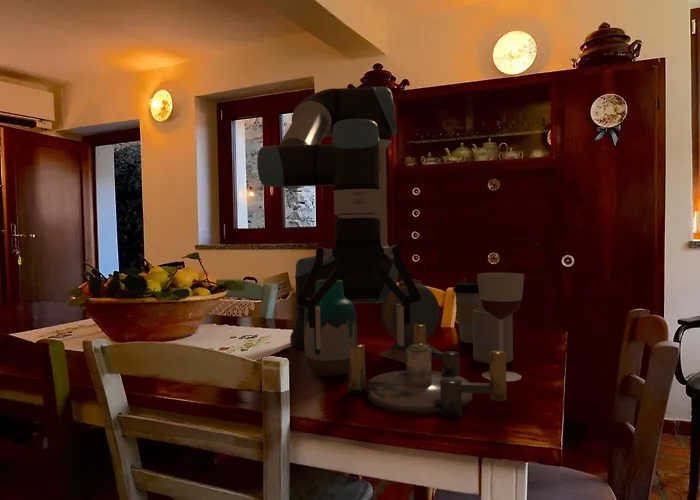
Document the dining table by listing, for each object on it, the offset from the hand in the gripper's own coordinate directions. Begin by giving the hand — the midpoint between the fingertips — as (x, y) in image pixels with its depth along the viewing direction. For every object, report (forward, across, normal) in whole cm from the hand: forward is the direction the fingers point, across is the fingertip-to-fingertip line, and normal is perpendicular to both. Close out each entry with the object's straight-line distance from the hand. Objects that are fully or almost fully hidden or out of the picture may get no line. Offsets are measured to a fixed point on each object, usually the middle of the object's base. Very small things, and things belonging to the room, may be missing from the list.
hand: (359, 345), depth 84 cm
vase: (+10, -4, +18) cm, 22 cm away
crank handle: (+10, +16, +14) cm, 23 cm away
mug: (+11, +32, +28) cm, 44 cm away
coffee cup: (+11, +33, +46) cm, 58 cm away
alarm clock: (+11, +15, +33) cm, 38 cm away
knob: (+10, 0, +3) cm, 10 cm away
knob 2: (+9, +16, -8) cm, 21 cm away
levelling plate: (+10, +10, +3) cm, 15 cm away
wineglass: (+10, +29, +13) cm, 34 cm away
